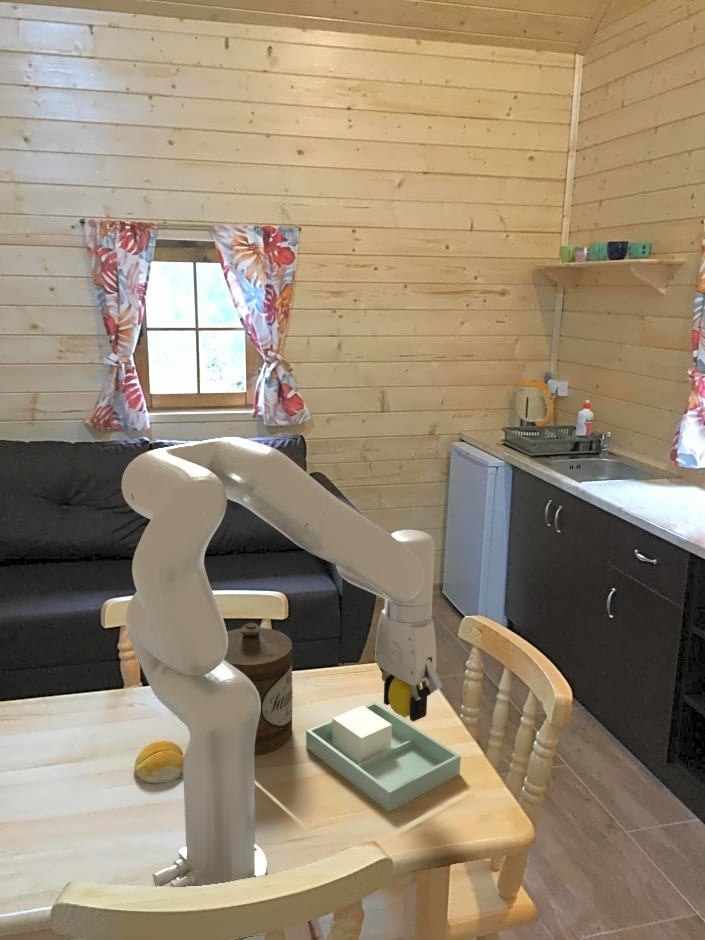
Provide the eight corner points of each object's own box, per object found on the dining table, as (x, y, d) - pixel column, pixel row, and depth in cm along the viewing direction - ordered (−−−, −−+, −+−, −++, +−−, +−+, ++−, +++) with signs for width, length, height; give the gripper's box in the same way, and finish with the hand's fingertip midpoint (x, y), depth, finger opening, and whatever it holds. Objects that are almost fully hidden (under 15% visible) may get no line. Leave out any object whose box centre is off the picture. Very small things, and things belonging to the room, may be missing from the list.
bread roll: (179, 749, 142) (179, 729, 141) (189, 778, 134) (188, 757, 133) (131, 759, 139) (130, 738, 138) (138, 789, 131) (137, 768, 130)
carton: (360, 764, 137) (361, 738, 136) (332, 743, 143) (332, 718, 142) (391, 749, 142) (392, 724, 140) (362, 729, 148) (362, 705, 146)
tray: (388, 815, 125) (389, 792, 124) (306, 750, 142) (306, 730, 141) (459, 776, 135) (460, 755, 134) (374, 720, 152) (375, 701, 151)
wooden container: (289, 759, 139) (289, 643, 134) (204, 758, 139) (200, 642, 134) (294, 714, 154) (295, 607, 148) (217, 713, 153) (215, 606, 148)
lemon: (419, 728, 129) (421, 683, 127) (385, 723, 130) (386, 679, 128) (423, 710, 134) (425, 666, 132) (390, 706, 135) (391, 663, 133)
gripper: (355, 596, 131) (354, 695, 136) (429, 633, 118) (424, 741, 123) (389, 585, 136) (387, 682, 140) (464, 619, 123) (458, 725, 127)
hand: (404, 709), depth 132 cm, fingers closed on lemon, 5 cm apart
